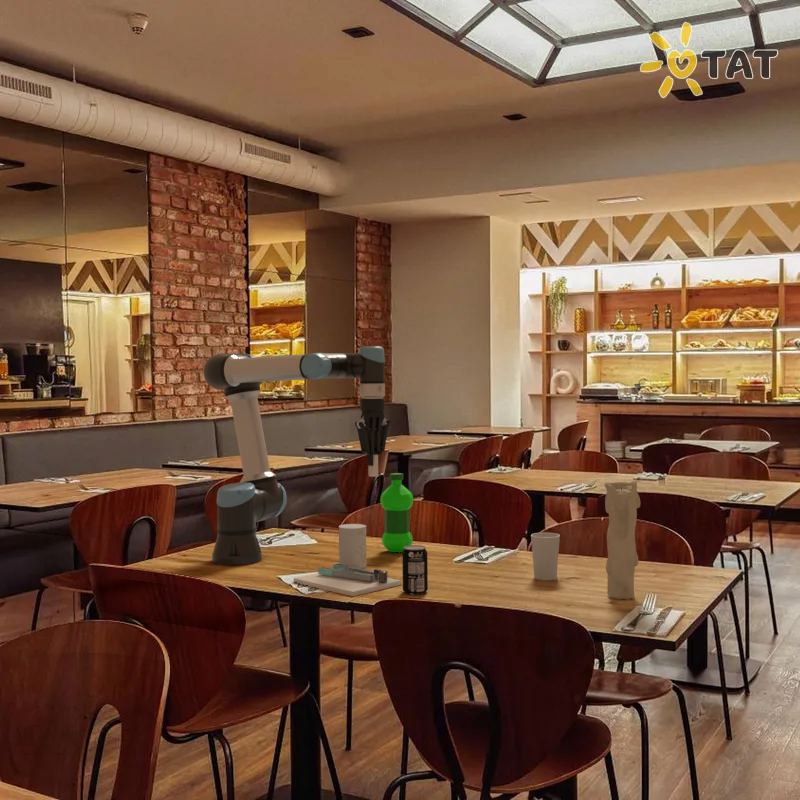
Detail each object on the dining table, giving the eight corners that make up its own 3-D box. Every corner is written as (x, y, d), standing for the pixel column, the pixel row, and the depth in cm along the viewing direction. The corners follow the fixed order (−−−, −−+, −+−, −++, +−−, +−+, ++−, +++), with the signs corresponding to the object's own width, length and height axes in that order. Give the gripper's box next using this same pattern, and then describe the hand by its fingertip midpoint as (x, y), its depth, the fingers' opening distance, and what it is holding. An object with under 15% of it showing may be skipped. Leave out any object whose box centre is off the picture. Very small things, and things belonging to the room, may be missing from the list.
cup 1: (362, 569, 287) (362, 528, 287) (336, 568, 289) (335, 528, 289) (369, 563, 295) (368, 524, 295) (343, 563, 297) (342, 523, 297)
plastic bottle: (381, 548, 320) (381, 472, 319) (414, 548, 319) (413, 472, 318) (379, 554, 309) (379, 475, 309) (413, 554, 309) (412, 475, 308)
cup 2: (538, 581, 269) (537, 538, 268) (526, 575, 277) (526, 533, 276) (564, 579, 271) (564, 536, 271) (552, 574, 279) (552, 532, 278)
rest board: (293, 582, 271) (293, 578, 271) (342, 572, 284) (341, 568, 284) (352, 596, 254) (352, 591, 254) (401, 584, 267) (401, 580, 267)
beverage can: (413, 588, 262) (412, 543, 262) (432, 591, 258) (432, 546, 258) (397, 593, 257) (397, 547, 257) (417, 596, 253) (416, 550, 253)
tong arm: (318, 574, 274) (318, 568, 274) (323, 572, 276) (322, 567, 276) (370, 581, 264) (370, 575, 264) (374, 580, 266) (374, 574, 266)
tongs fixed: (329, 576, 278) (329, 562, 278) (338, 574, 281) (338, 560, 281) (383, 588, 263) (382, 573, 263) (392, 585, 266) (392, 571, 266)
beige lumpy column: (643, 596, 251) (643, 479, 250) (632, 603, 244) (631, 482, 243) (611, 592, 256) (611, 477, 255) (599, 599, 249) (598, 481, 248)
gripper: (365, 398, 287) (366, 479, 288) (396, 397, 296) (397, 475, 297) (348, 398, 292) (349, 477, 293) (379, 396, 301) (380, 473, 302)
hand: (373, 476), depth 295 cm, fingers closed
